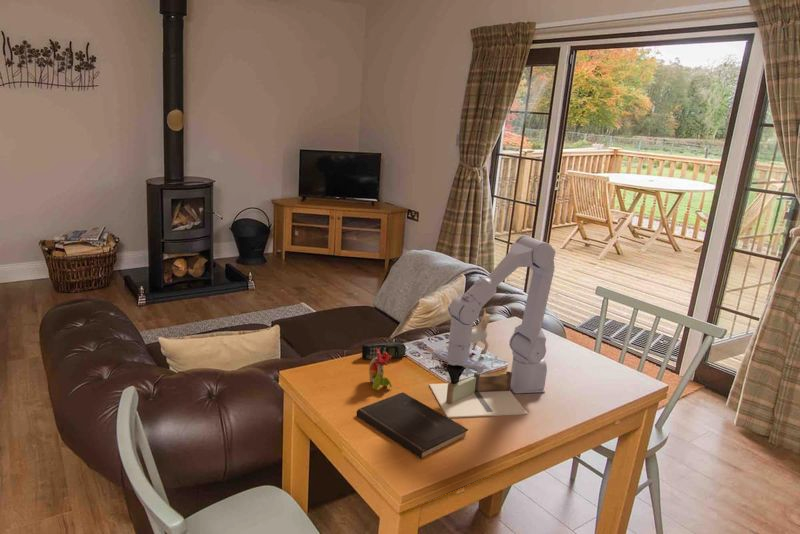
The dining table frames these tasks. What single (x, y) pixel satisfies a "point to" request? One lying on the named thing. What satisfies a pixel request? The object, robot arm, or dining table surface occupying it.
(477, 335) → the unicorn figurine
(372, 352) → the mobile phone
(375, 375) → the bird rattle
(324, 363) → the dining table surface
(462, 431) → the hardcover book
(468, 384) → the fence panel
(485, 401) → the card
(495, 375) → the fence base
